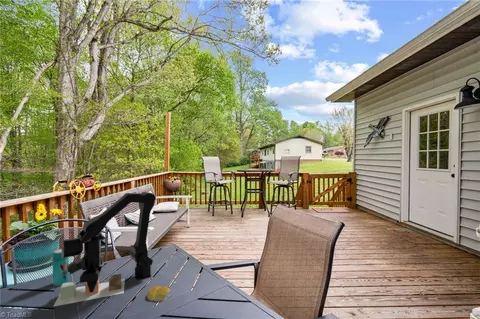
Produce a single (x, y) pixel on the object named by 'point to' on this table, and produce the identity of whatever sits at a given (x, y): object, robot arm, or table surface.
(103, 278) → the table surface
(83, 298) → the white mat
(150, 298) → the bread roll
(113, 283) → the walnut block
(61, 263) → the beverage can
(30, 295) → the table surface
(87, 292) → the terracotta block
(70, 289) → the sage block
